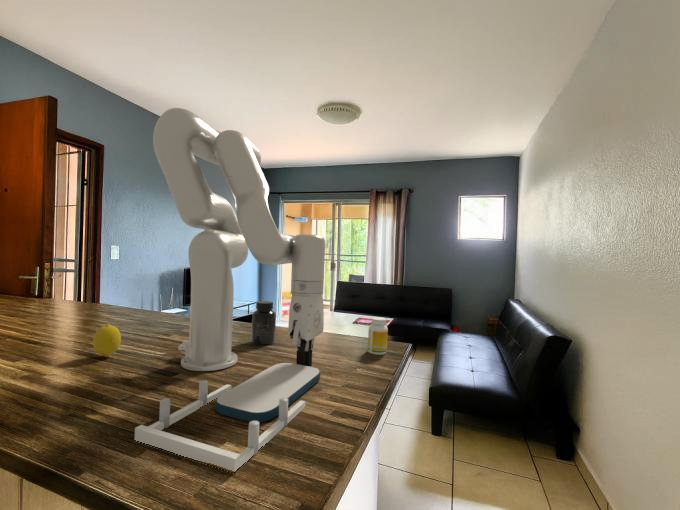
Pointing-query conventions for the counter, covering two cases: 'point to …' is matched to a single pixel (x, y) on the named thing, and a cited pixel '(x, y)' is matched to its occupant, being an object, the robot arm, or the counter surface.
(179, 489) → the counter surface
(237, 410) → the white blue rounded slab
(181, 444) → the dock
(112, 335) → the lemon
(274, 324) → the supplement bottle
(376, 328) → the supplement bottle
